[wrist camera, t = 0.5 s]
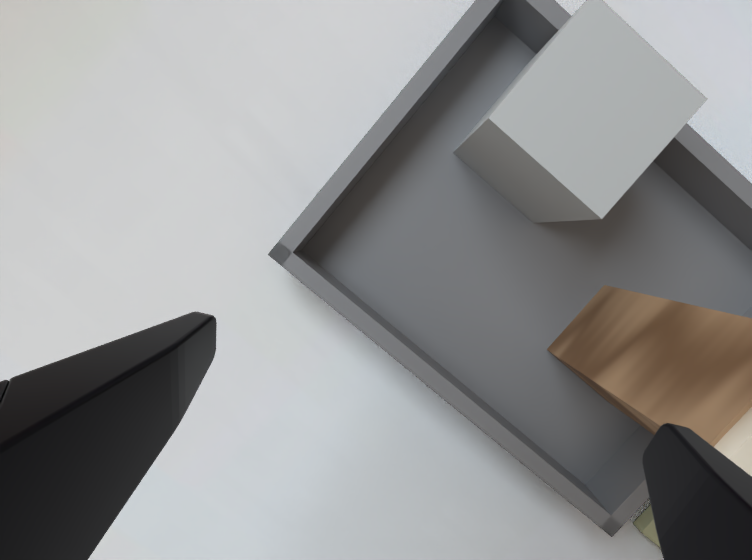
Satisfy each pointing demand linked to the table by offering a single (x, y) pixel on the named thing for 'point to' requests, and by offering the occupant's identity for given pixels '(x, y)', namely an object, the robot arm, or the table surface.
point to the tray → (513, 261)
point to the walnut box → (667, 365)
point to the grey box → (580, 120)
